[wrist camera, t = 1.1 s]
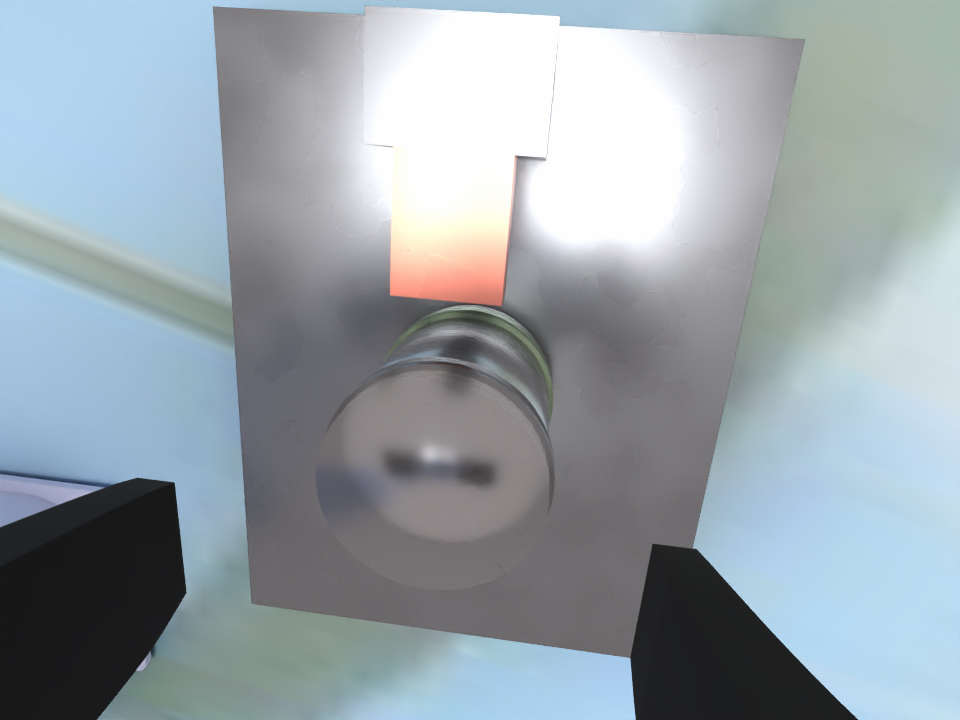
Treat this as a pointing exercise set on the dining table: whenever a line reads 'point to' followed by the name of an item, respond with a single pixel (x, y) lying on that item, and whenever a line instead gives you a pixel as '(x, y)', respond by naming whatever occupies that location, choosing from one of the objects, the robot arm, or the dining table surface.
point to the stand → (494, 274)
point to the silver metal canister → (444, 453)
